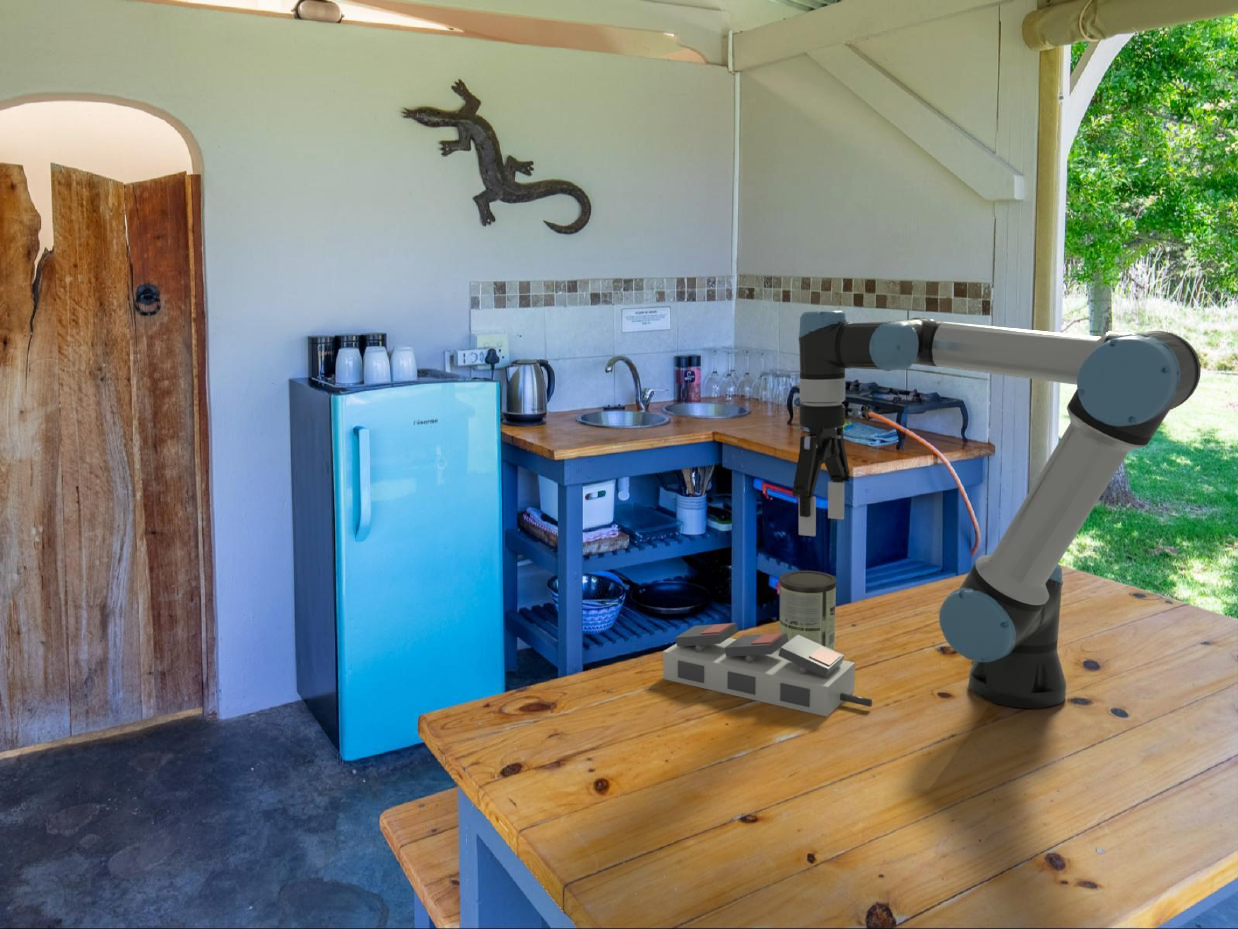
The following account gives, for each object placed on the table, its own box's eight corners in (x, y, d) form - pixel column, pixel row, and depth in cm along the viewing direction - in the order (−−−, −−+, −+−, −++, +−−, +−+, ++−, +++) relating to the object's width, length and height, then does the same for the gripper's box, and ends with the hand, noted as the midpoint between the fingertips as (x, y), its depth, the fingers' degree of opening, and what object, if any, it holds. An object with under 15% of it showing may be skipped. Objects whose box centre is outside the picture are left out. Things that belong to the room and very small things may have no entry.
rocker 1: (738, 631, 184) (736, 621, 184) (719, 644, 178) (717, 633, 178) (696, 634, 189) (694, 624, 189) (677, 646, 183) (675, 636, 183)
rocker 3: (841, 663, 174) (844, 654, 174) (825, 677, 168) (828, 667, 168) (795, 642, 178) (798, 633, 178) (778, 655, 172) (781, 646, 172)
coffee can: (776, 641, 200) (778, 569, 198) (831, 642, 199) (833, 570, 197) (779, 661, 190) (780, 586, 188) (837, 662, 189) (839, 587, 187)
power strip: (883, 697, 174) (884, 660, 173) (857, 724, 164) (858, 685, 163) (696, 657, 193) (696, 624, 191) (662, 679, 182) (662, 644, 181)
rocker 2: (788, 641, 179) (786, 631, 179) (771, 654, 173) (769, 643, 173) (744, 644, 184) (742, 634, 184) (726, 656, 178) (724, 646, 178)
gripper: (827, 394, 189) (827, 510, 193) (771, 411, 169) (772, 540, 172) (868, 395, 185) (867, 513, 189) (815, 412, 165) (816, 544, 168)
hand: (822, 526), depth 181 cm, fingers open, 13 cm apart
